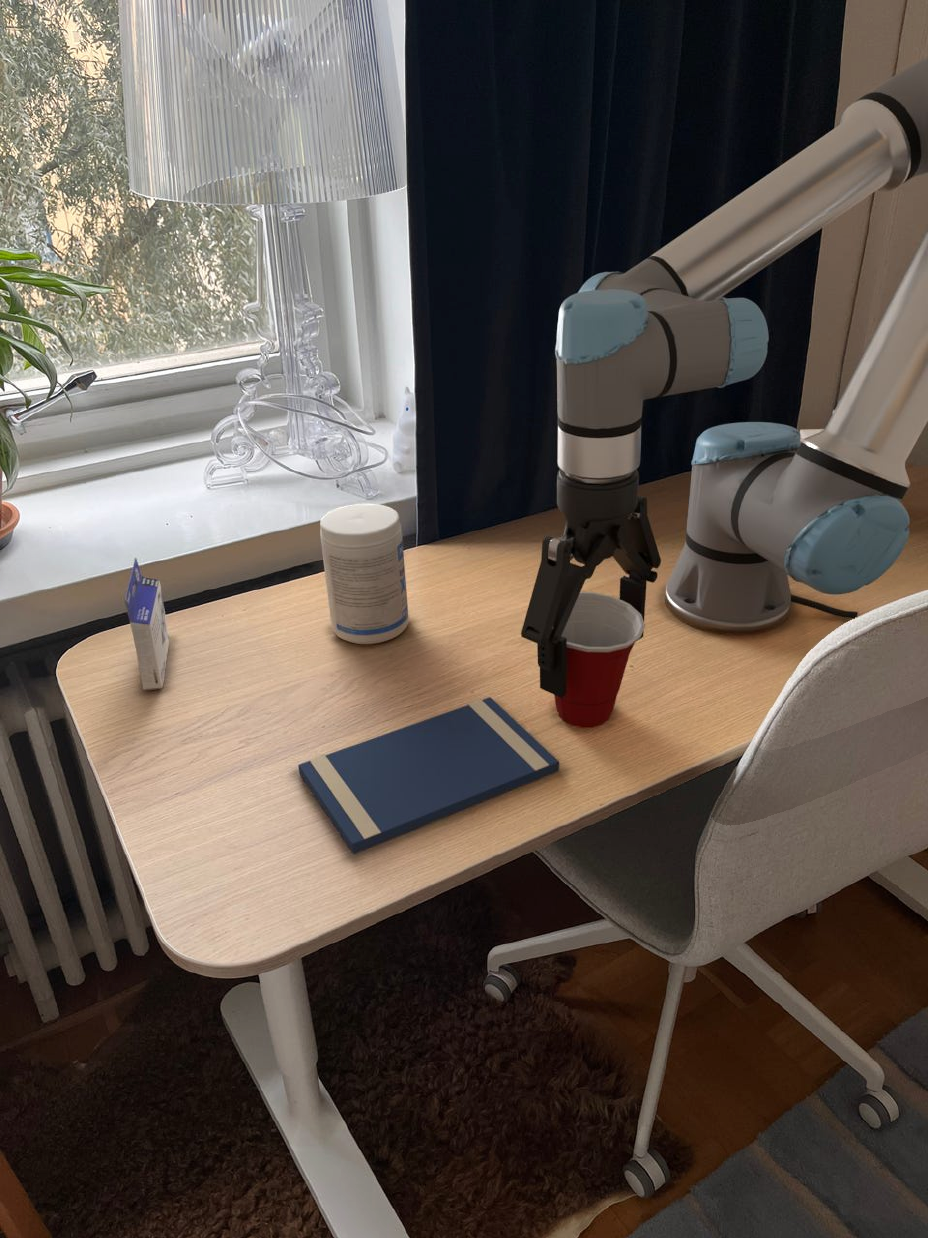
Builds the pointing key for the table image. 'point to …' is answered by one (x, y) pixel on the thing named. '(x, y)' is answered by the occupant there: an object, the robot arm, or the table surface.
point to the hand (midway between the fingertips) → (593, 661)
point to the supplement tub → (365, 572)
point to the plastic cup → (596, 657)
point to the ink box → (148, 627)
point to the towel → (424, 772)
